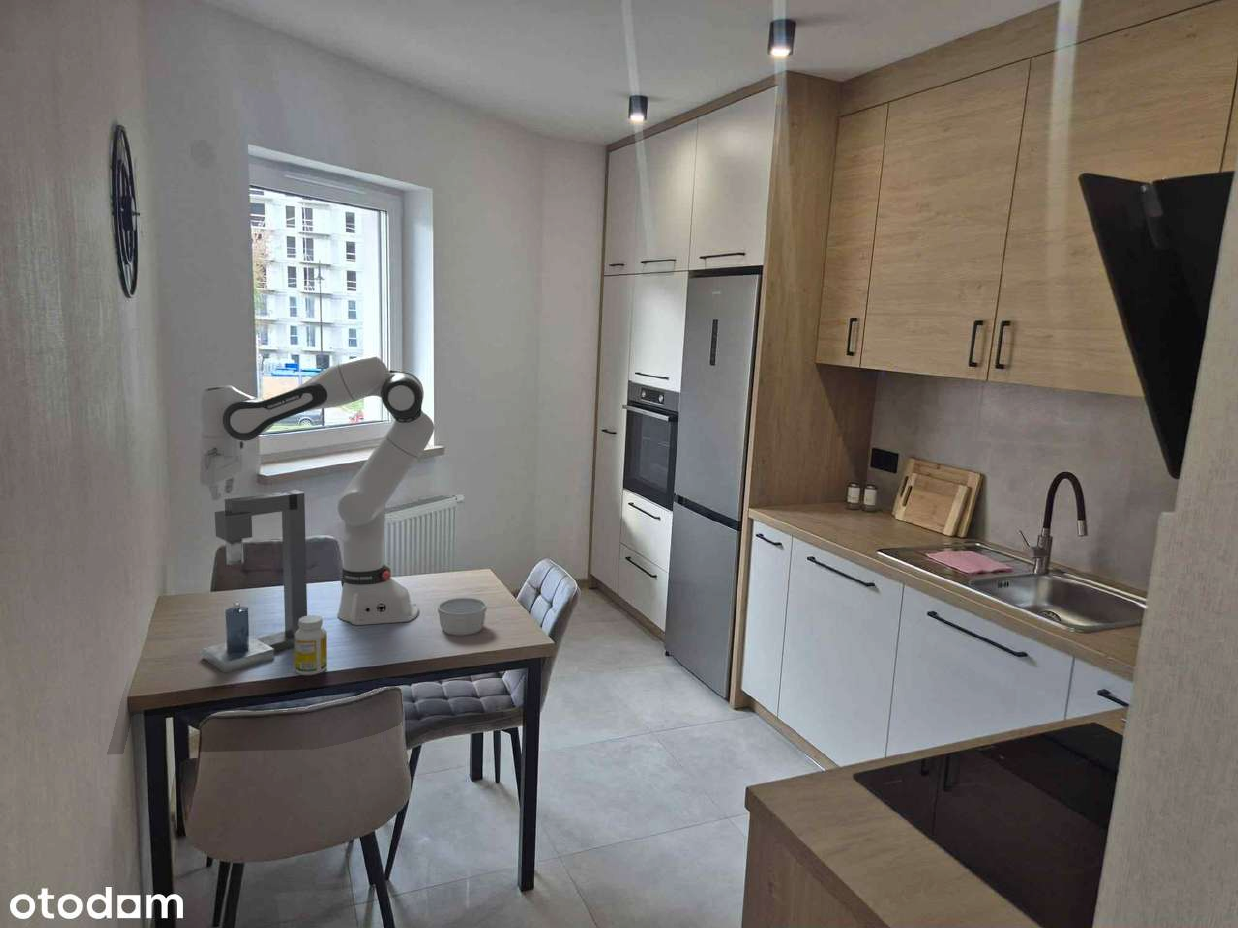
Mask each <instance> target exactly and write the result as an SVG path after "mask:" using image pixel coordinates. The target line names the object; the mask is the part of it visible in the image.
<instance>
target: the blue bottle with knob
mask: <svg viewBox="0 0 1238 928" xmlns="http://www.w3.org/2000/svg"><path fill="white" fill-rule="evenodd" d="M249 625H250V623H249V608H248V607H246V606H241V603H239V602H237V603H233V606H232V607H229V608H227V609H226V610H225V632H226V633H225V634H226V635H225V637H226V642H227V651H228V652H230V653H239V652H244V651H246V650H248V649H249V636H250V626H249Z"/></svg>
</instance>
